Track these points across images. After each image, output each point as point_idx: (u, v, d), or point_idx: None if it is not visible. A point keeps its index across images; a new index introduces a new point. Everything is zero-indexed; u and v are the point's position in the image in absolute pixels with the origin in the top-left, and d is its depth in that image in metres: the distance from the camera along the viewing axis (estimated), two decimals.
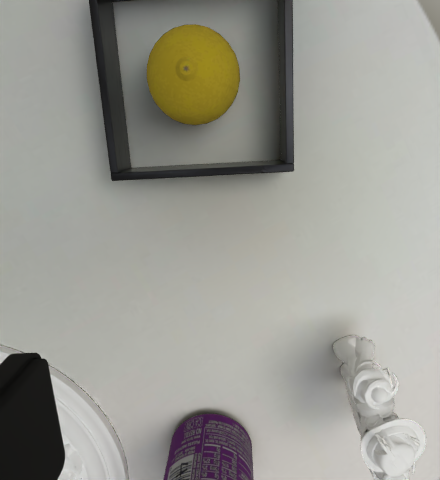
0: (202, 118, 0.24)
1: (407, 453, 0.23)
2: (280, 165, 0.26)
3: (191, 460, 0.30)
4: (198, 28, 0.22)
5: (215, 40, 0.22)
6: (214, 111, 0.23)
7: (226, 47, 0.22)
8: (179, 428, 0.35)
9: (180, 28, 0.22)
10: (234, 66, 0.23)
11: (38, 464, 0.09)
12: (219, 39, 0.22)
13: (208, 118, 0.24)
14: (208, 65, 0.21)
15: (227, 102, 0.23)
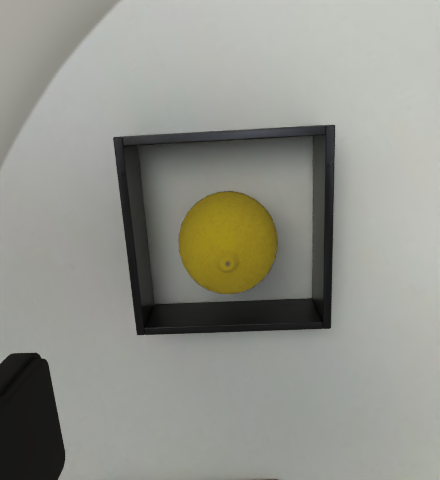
0: (274, 238, 0.21)
1: None
2: (327, 142, 0.22)
3: None
4: (184, 243, 0.21)
5: (196, 226, 0.20)
6: (267, 225, 0.21)
7: (202, 213, 0.21)
8: None
9: (185, 261, 0.21)
10: (220, 203, 0.21)
11: (38, 464, 0.09)
12: (194, 221, 0.21)
13: (273, 230, 0.21)
14: (223, 237, 0.19)
15: (257, 210, 0.21)
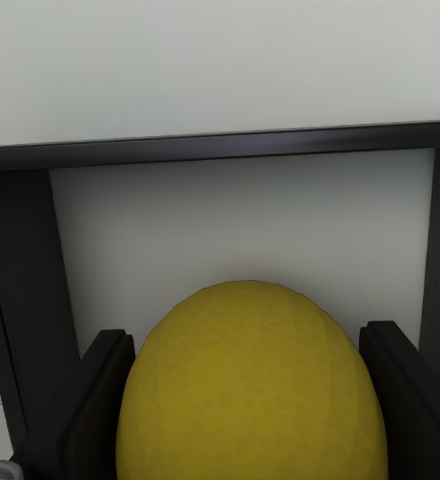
0: (386, 444, 0.07)
1: None
2: None
3: None
4: (122, 472, 0.07)
5: (153, 435, 0.06)
6: (372, 418, 0.07)
7: (174, 384, 0.07)
8: None
9: None
10: (231, 354, 0.07)
11: None
12: (151, 409, 0.07)
13: (381, 417, 0.07)
14: None
15: (338, 366, 0.07)
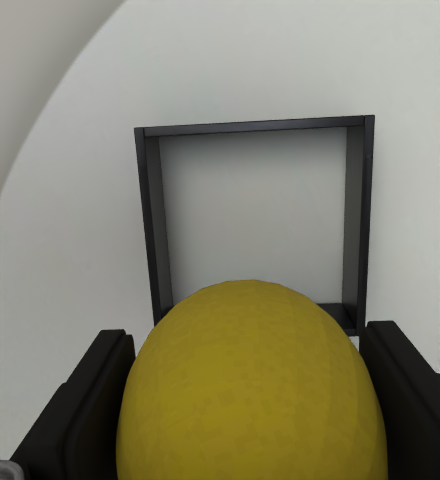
0: (386, 443, 0.07)
1: None
2: (365, 133, 0.20)
3: None
4: (122, 470, 0.07)
5: (153, 434, 0.06)
6: (371, 417, 0.07)
7: (174, 383, 0.07)
8: None
9: None
10: (231, 353, 0.07)
11: None
12: (151, 408, 0.07)
13: (380, 416, 0.08)
14: None
15: (338, 365, 0.07)
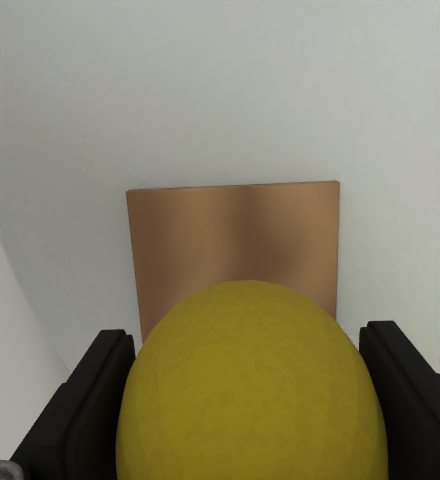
0: None
1: None
2: None
3: None
4: (122, 471, 0.07)
5: (153, 434, 0.06)
6: (371, 417, 0.07)
7: (174, 384, 0.07)
8: None
9: None
10: (231, 353, 0.07)
11: None
12: (151, 409, 0.07)
13: (381, 416, 0.07)
14: None
15: (339, 365, 0.07)
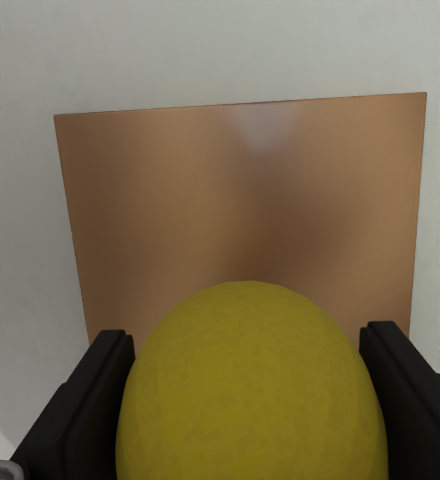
0: (386, 444, 0.07)
1: None
2: None
3: None
4: (122, 472, 0.07)
5: (153, 436, 0.06)
6: (371, 418, 0.07)
7: (174, 385, 0.07)
8: None
9: None
10: (231, 354, 0.07)
11: None
12: (151, 410, 0.07)
13: (381, 417, 0.07)
14: None
15: (339, 366, 0.07)
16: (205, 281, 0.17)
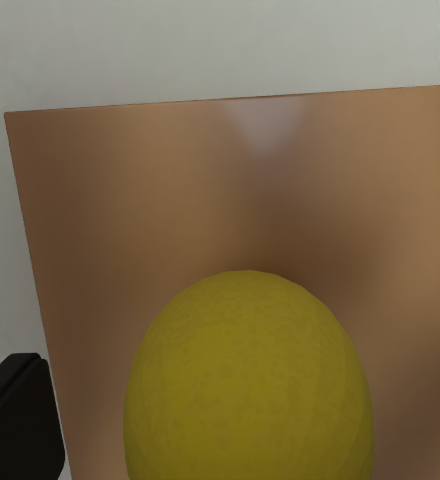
0: None
1: None
2: None
3: None
4: (129, 441, 0.07)
5: (158, 406, 0.07)
6: (358, 391, 0.07)
7: (177, 360, 0.07)
8: None
9: None
10: (229, 333, 0.07)
11: (38, 464, 0.09)
12: (156, 383, 0.07)
13: (368, 393, 0.08)
14: (238, 466, 0.06)
15: (328, 345, 0.08)
16: None
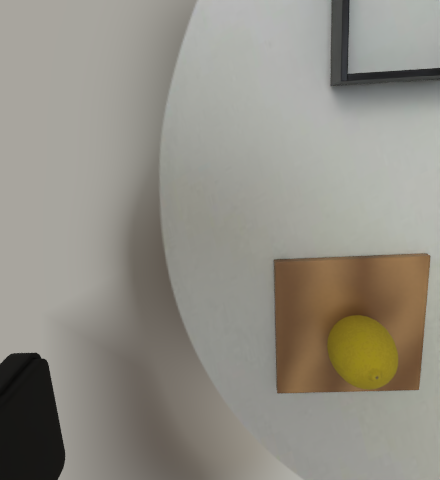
0: (397, 354, 0.33)
1: None
2: None
3: None
4: (342, 358, 0.33)
5: (351, 350, 0.32)
6: (394, 347, 0.33)
7: (354, 340, 0.33)
8: None
9: (341, 369, 0.33)
10: (365, 334, 0.33)
11: (38, 464, 0.09)
12: (349, 345, 0.32)
13: (396, 348, 0.33)
14: (372, 360, 0.31)
15: (387, 337, 0.33)
16: None
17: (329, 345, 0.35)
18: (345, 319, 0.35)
